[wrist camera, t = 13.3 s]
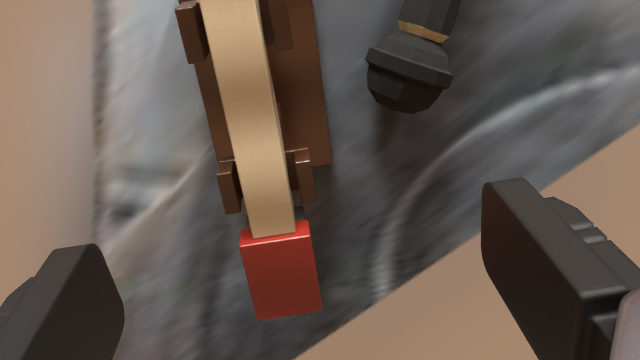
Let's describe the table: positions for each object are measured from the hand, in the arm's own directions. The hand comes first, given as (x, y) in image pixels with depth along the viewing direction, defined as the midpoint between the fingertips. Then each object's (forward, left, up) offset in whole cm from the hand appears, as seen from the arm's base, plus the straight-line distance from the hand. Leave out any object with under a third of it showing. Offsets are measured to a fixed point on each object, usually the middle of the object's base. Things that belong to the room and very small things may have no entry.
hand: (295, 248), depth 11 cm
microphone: (-11, -3, -25) cm, 28 cm away
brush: (+2, +3, -16) cm, 16 cm away
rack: (+2, +3, -25) cm, 25 cm away
